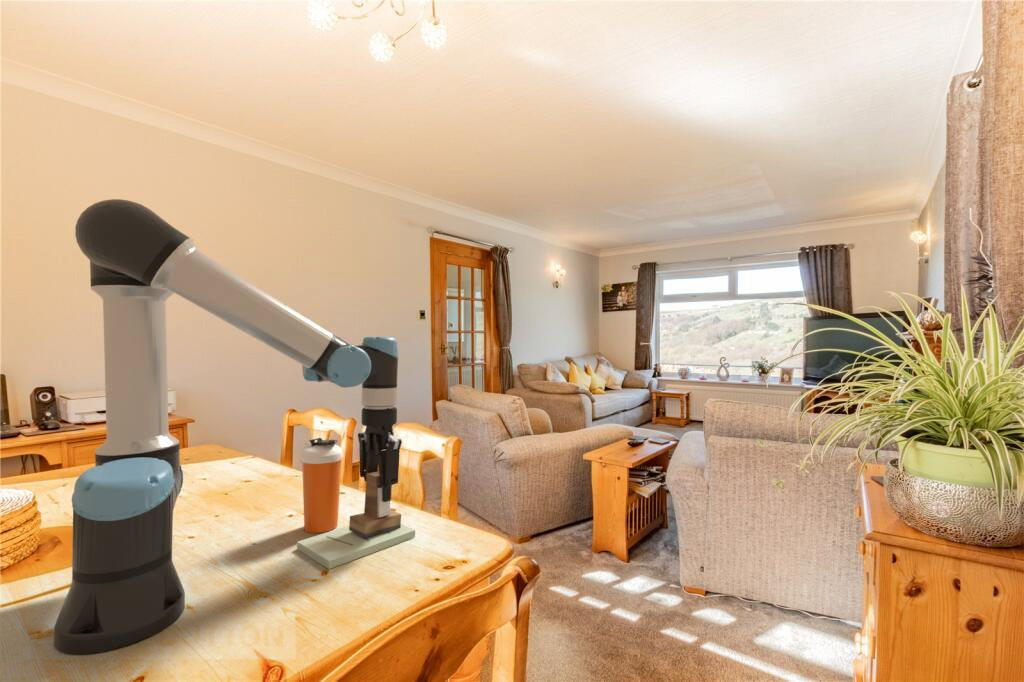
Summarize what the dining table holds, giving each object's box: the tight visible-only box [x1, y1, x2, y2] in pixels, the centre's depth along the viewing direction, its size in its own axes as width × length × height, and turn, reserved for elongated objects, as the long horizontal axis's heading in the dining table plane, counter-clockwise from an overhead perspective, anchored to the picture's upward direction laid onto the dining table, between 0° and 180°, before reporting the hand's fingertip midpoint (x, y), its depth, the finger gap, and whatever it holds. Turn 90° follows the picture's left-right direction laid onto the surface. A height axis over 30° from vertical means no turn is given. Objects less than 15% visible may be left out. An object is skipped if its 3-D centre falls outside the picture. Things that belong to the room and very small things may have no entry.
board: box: [296, 524, 416, 570], centre depth 100 cm, size 20×13×2 cm, turn 139°
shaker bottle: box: [300, 437, 344, 534], centre depth 109 cm, size 9×9×20 cm
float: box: [348, 470, 402, 538], centre depth 104 cm, size 9×6×12 cm, turn 139°
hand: (377, 513), depth 104 cm, fingers closed on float, 4 cm apart
